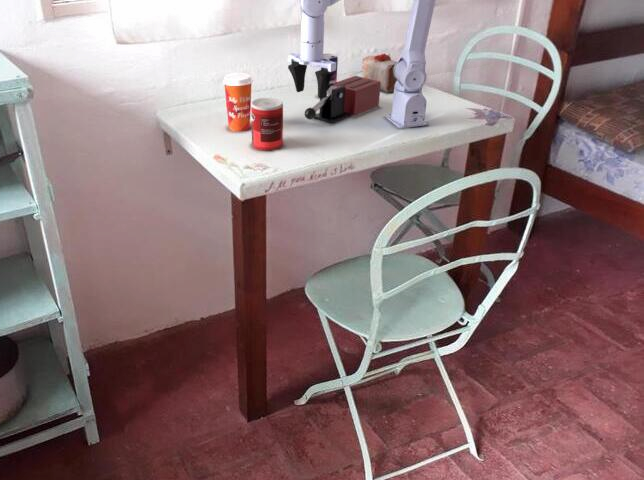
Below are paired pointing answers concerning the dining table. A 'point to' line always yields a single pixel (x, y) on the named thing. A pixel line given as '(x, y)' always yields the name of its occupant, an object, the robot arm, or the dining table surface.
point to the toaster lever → (319, 104)
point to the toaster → (360, 95)
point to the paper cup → (238, 100)
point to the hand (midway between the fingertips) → (310, 94)
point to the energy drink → (334, 59)
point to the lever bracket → (333, 107)
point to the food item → (380, 71)
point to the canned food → (267, 123)
